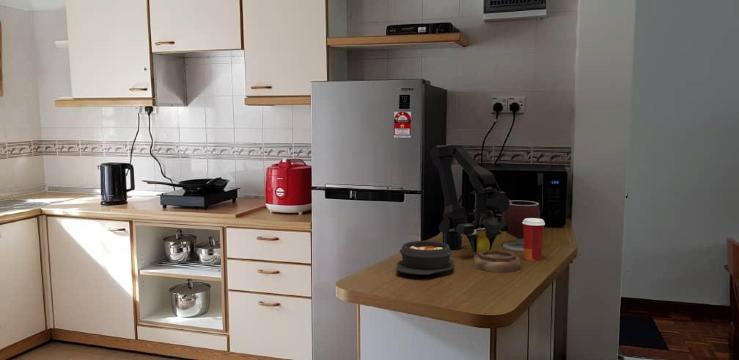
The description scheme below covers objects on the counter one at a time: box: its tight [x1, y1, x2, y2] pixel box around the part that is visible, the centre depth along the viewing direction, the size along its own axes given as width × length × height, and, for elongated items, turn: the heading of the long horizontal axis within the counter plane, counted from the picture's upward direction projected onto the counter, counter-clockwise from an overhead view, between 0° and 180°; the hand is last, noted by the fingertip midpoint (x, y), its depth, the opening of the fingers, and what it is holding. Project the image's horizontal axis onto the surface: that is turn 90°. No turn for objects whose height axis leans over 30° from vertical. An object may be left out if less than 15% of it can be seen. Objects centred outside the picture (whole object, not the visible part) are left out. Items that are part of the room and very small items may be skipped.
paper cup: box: [522, 218, 546, 262], centre depth 221 cm, size 8×8×14 cm
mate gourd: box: [501, 199, 541, 252], centre depth 240 cm, size 16×14×20 cm
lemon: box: [476, 234, 490, 255], centre depth 225 cm, size 6×6×8 cm
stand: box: [473, 249, 521, 273], centre depth 211 cm, size 15×15×4 cm
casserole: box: [395, 240, 455, 276], centre depth 205 cm, size 25×19×8 cm
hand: (481, 251), depth 225 cm, fingers closed on lemon, 5 cm apart
